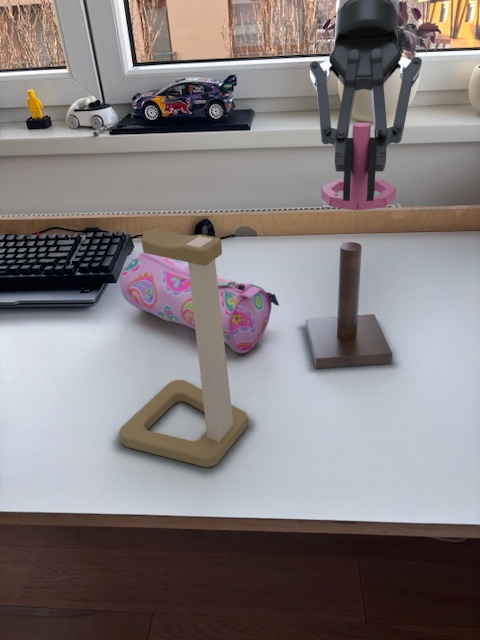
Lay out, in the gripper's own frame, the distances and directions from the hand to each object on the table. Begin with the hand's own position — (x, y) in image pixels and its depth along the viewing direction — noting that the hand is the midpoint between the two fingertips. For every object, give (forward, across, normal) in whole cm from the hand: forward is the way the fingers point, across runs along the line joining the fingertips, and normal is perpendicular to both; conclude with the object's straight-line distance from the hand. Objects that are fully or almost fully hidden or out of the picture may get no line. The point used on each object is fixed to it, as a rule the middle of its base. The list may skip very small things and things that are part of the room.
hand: (358, 195), depth 62 cm
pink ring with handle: (-4, 0, +8) cm, 9 cm away
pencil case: (+14, -21, +12) cm, 28 cm away
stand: (+15, -1, +10) cm, 19 cm away
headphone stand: (+28, -16, -2) cm, 32 cm away
